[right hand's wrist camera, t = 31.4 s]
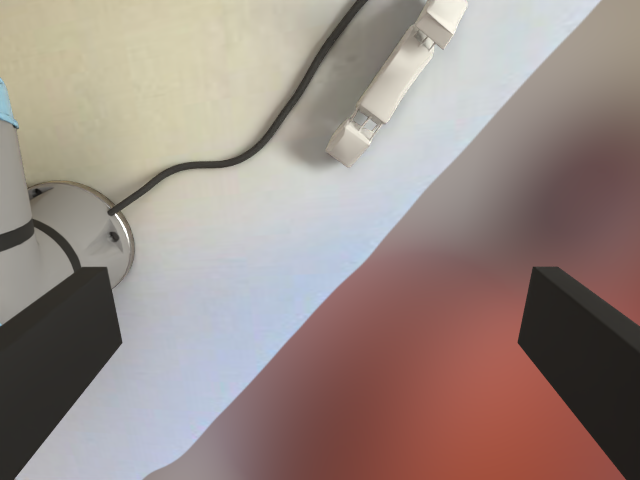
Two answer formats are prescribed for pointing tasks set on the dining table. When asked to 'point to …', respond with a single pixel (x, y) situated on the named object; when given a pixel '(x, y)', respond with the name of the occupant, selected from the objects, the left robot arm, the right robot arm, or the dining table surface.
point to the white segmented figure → (397, 77)
